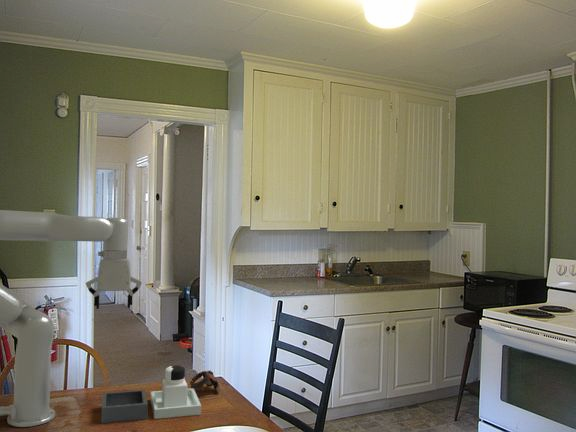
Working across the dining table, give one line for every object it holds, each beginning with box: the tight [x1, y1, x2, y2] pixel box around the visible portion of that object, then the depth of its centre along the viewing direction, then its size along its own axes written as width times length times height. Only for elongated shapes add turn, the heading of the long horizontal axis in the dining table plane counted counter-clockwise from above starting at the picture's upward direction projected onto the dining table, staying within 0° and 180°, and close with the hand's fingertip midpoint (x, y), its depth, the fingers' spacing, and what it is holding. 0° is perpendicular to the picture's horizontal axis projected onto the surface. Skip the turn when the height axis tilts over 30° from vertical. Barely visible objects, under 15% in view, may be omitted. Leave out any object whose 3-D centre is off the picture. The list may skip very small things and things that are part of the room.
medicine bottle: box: [161, 365, 189, 408], centre depth 163 cm, size 7×7×12 cm
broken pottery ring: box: [189, 370, 221, 395], centre depth 179 cm, size 12×10×8 cm
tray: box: [150, 387, 202, 420], centre depth 163 cm, size 14×16×3 cm
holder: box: [100, 389, 149, 424], centre depth 157 cm, size 13×13×4 cm
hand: (113, 307), depth 167 cm, fingers open, 9 cm apart
